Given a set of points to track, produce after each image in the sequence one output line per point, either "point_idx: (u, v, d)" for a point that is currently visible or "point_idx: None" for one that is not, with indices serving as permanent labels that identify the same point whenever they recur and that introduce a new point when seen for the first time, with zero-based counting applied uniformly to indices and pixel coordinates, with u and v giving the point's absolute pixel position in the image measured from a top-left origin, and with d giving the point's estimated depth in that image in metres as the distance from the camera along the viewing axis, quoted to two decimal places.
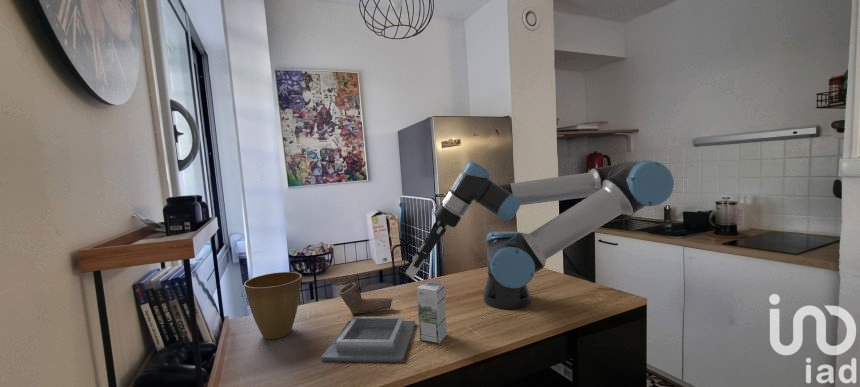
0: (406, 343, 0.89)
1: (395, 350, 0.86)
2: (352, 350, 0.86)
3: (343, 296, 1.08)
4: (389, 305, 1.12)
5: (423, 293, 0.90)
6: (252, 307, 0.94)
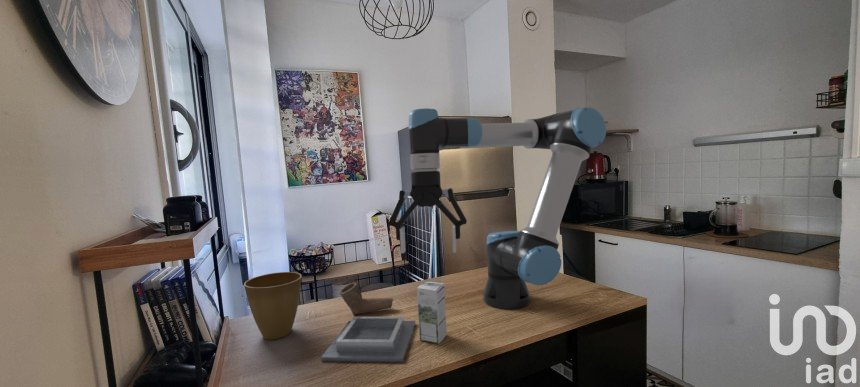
0: (406, 343, 0.89)
1: (395, 350, 0.86)
2: (352, 350, 0.86)
3: (344, 296, 1.08)
4: (390, 305, 1.12)
5: (423, 293, 0.90)
6: (252, 307, 0.94)
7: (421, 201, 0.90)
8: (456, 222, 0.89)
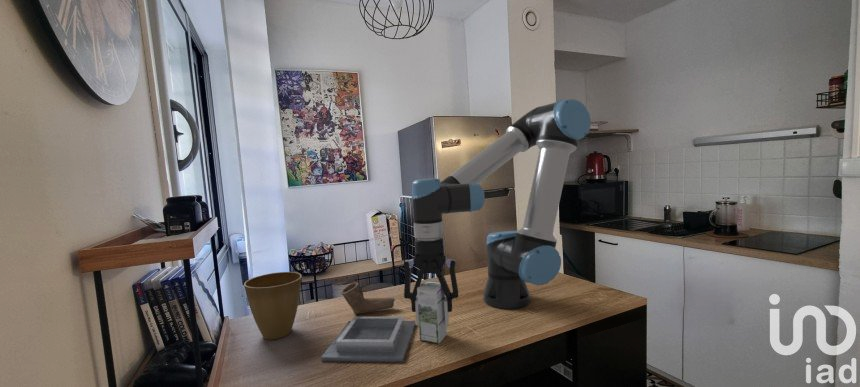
0: (406, 343, 0.89)
1: (395, 350, 0.86)
2: (352, 350, 0.86)
3: (346, 296, 1.08)
4: (391, 305, 1.12)
5: (423, 293, 0.90)
6: (252, 307, 0.94)
7: (426, 268, 0.91)
8: (449, 296, 0.91)
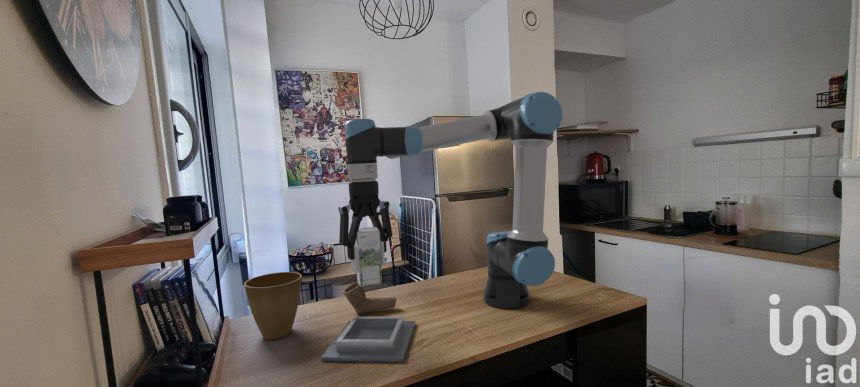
0: (406, 343, 0.89)
1: (395, 350, 0.86)
2: (352, 350, 0.86)
3: (348, 295, 1.08)
4: (393, 304, 1.12)
5: (365, 236, 0.88)
6: (252, 307, 0.94)
7: (364, 211, 0.89)
8: (384, 236, 0.93)
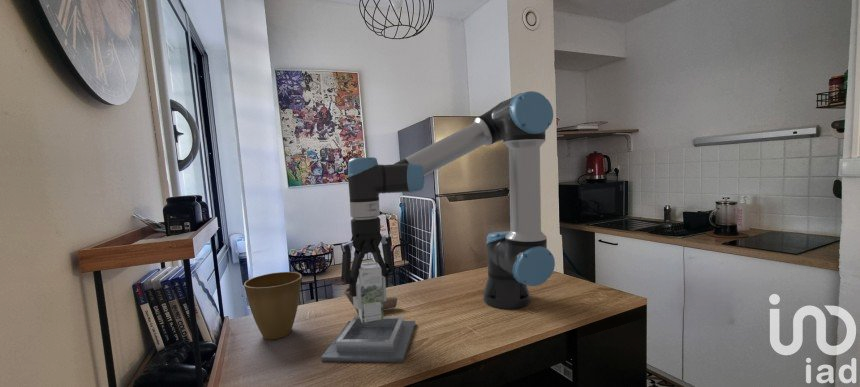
0: (406, 343, 0.89)
1: (395, 350, 0.86)
2: (352, 350, 0.86)
3: (349, 295, 1.08)
4: (394, 304, 1.12)
5: (367, 273, 0.89)
6: (252, 307, 0.94)
7: None
8: (386, 271, 0.94)
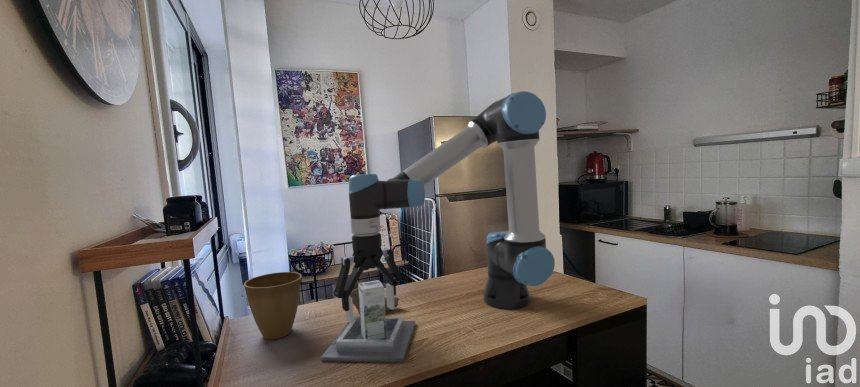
0: (406, 343, 0.89)
1: (395, 350, 0.86)
2: (352, 350, 0.86)
3: (350, 295, 1.08)
4: (396, 304, 1.12)
5: (370, 292, 0.89)
6: (252, 307, 0.94)
7: (366, 264, 0.90)
8: (394, 280, 0.95)
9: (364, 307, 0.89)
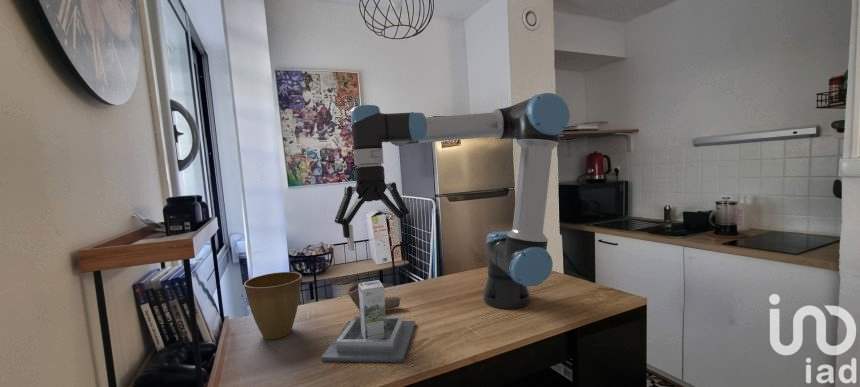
0: (406, 343, 0.89)
1: (395, 350, 0.86)
2: (352, 350, 0.86)
3: (352, 295, 1.08)
4: (397, 304, 1.12)
5: (370, 292, 0.89)
6: (252, 307, 0.94)
7: (369, 196, 0.91)
8: (400, 213, 0.96)
9: (364, 307, 0.89)
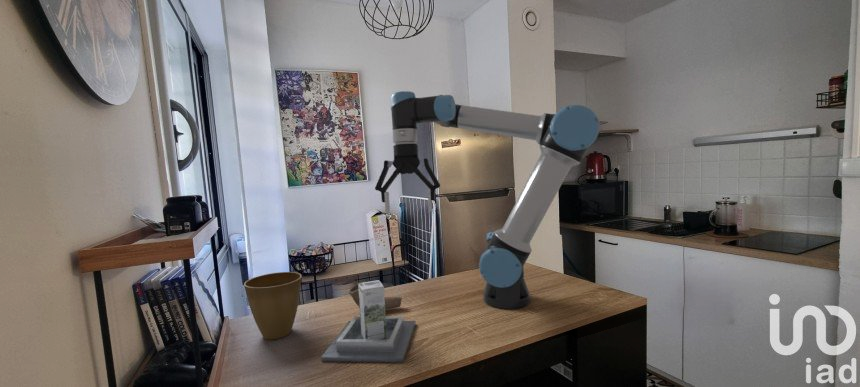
0: (406, 343, 0.89)
1: (395, 350, 0.86)
2: (352, 350, 0.86)
3: (353, 295, 1.08)
4: (399, 304, 1.12)
5: (370, 292, 0.89)
6: (252, 307, 0.94)
7: (402, 169, 1.08)
8: (431, 186, 1.07)
9: (364, 307, 0.89)
